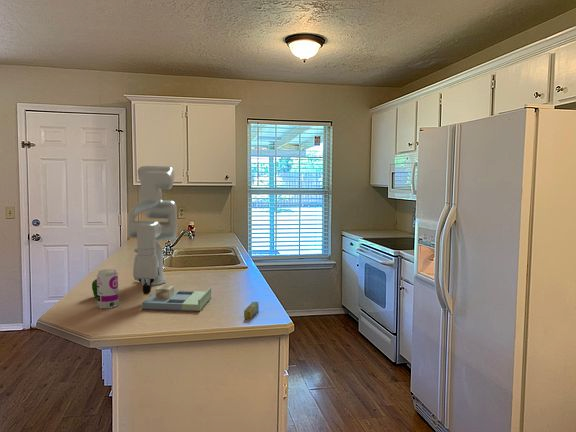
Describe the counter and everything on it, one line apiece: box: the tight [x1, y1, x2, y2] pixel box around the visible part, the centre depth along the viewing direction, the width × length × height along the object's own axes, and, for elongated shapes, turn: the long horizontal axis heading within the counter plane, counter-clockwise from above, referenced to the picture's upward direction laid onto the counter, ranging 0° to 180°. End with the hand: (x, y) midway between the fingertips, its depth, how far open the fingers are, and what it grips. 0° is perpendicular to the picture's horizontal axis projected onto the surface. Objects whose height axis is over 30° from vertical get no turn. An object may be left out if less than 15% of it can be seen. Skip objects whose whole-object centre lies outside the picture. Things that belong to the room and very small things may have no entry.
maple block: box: [155, 285, 175, 299], centre depth 188 cm, size 6×6×4 cm
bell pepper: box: [91, 278, 97, 298], centre depth 196 cm, size 8×8×10 cm
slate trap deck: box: [142, 287, 212, 313], centre depth 188 cm, size 24×20×5 cm
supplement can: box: [96, 268, 119, 309], centre depth 182 cm, size 8×8×15 cm
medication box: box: [243, 301, 260, 321], centre depth 175 cm, size 12×3×4 cm, turn 168°
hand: (146, 293), depth 189 cm, fingers closed
